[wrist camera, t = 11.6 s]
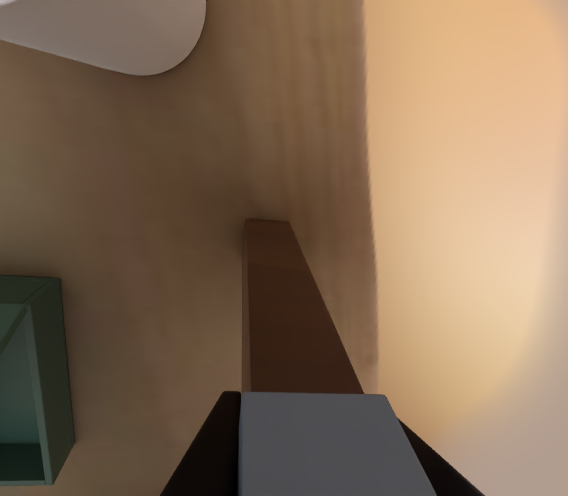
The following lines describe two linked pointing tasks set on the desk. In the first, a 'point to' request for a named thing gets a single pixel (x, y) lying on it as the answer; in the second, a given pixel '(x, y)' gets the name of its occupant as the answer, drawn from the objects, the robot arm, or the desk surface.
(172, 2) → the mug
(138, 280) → the desk surface
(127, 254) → the desk surface
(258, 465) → the block
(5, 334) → the lid
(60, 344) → the chest
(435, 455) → the robot arm
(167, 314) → the desk surface
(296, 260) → the post
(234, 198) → the desk surface
